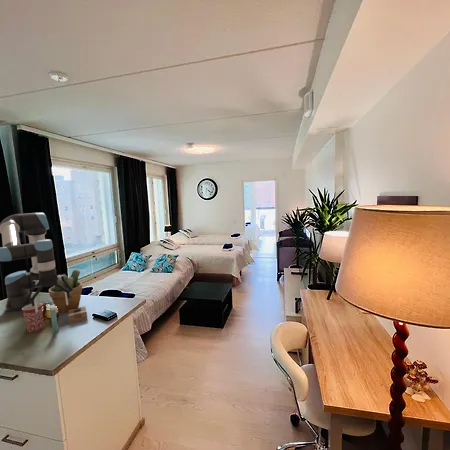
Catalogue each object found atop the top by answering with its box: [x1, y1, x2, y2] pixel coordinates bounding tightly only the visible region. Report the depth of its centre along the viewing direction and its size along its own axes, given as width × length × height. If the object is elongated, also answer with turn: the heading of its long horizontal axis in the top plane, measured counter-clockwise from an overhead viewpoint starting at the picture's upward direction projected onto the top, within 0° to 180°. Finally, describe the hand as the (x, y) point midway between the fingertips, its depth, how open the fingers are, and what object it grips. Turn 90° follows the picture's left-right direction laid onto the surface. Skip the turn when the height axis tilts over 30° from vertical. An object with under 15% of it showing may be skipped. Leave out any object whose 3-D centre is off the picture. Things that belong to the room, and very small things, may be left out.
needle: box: [49, 306, 59, 334], centre depth 138 cm, size 2×2×14 cm
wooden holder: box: [68, 305, 88, 325], centre depth 153 cm, size 9×9×5 cm
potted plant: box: [48, 269, 83, 314], centre depth 165 cm, size 18×19×25 cm
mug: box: [21, 302, 47, 333], centre depth 144 cm, size 13×9×14 cm
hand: (52, 307), depth 137 cm, fingers open, 13 cm apart
